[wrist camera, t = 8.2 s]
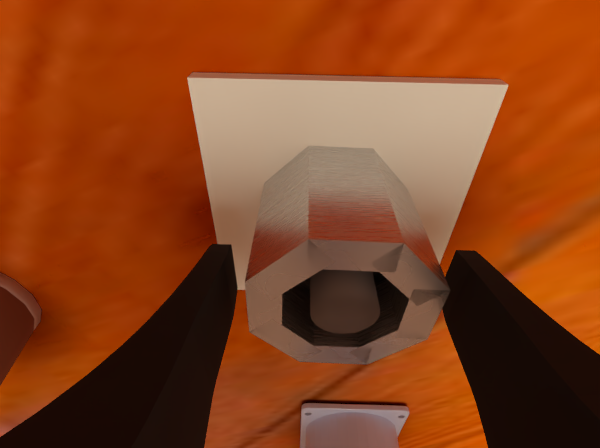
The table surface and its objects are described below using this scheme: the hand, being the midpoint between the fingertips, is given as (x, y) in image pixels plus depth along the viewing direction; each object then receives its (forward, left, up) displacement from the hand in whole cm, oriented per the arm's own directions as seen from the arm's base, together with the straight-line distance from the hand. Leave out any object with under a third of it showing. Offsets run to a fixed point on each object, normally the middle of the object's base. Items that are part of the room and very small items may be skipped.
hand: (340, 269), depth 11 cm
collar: (0, 0, -3) cm, 3 cm away
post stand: (0, 0, -4) cm, 4 cm away
